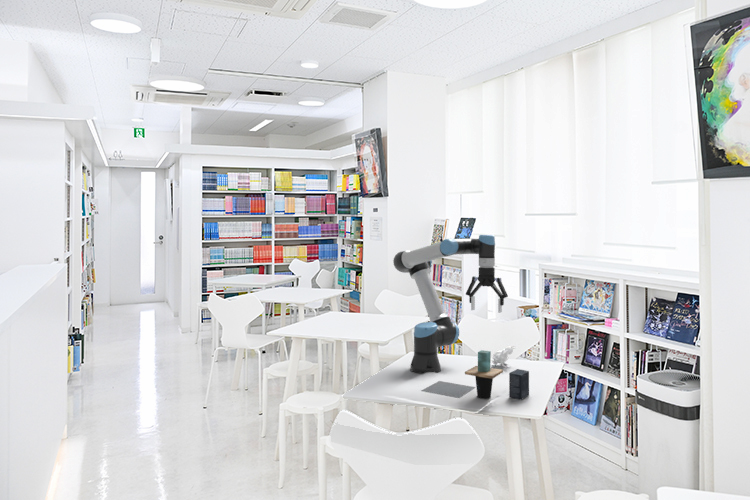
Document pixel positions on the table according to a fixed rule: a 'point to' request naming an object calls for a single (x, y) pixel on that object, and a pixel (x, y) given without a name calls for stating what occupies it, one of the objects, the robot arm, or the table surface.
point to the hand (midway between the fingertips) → (486, 311)
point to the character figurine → (502, 356)
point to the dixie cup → (483, 387)
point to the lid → (484, 366)
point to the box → (518, 384)
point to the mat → (448, 389)
